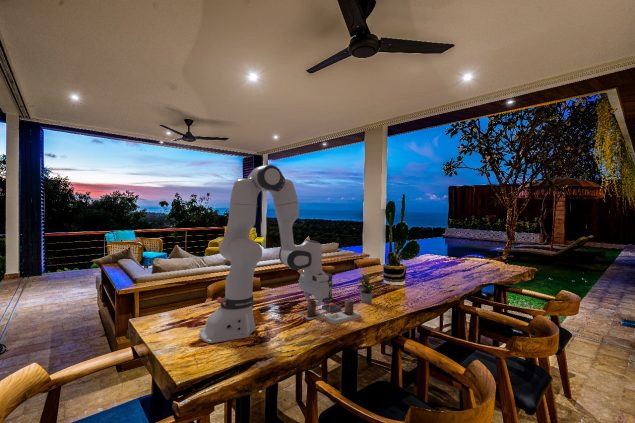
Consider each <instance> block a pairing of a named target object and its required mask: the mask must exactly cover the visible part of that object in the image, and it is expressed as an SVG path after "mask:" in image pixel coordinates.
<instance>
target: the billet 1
mask: <svg viewBox="0 0 635 423" xmlns="http://www.w3.org/2000/svg"><path fill="white" fill-rule="evenodd" d="M316 302H317V300H315V299H310V300H308V301H307V304H306V305H307V310H306V311H307V313H306V317H309V318H312V317H316V314H317V313H316V311H317V305H316V304H317V303H316Z"/></svg>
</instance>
